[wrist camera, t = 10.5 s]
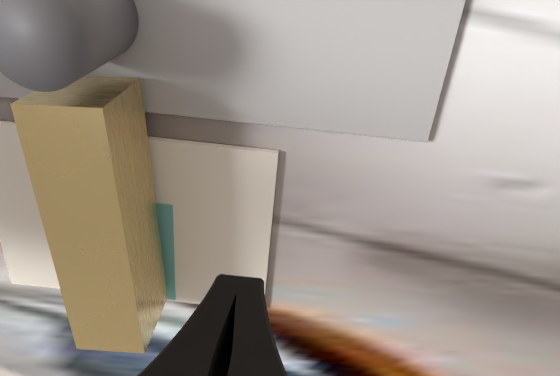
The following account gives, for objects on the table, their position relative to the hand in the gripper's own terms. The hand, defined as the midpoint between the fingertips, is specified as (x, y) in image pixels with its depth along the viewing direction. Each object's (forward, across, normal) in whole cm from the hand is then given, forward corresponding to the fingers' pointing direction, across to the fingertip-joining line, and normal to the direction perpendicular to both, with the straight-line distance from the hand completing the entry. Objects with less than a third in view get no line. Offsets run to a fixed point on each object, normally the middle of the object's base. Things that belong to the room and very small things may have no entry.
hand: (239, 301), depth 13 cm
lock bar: (+4, +5, -1) cm, 6 cm away
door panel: (+5, +2, -3) cm, 6 cm away
